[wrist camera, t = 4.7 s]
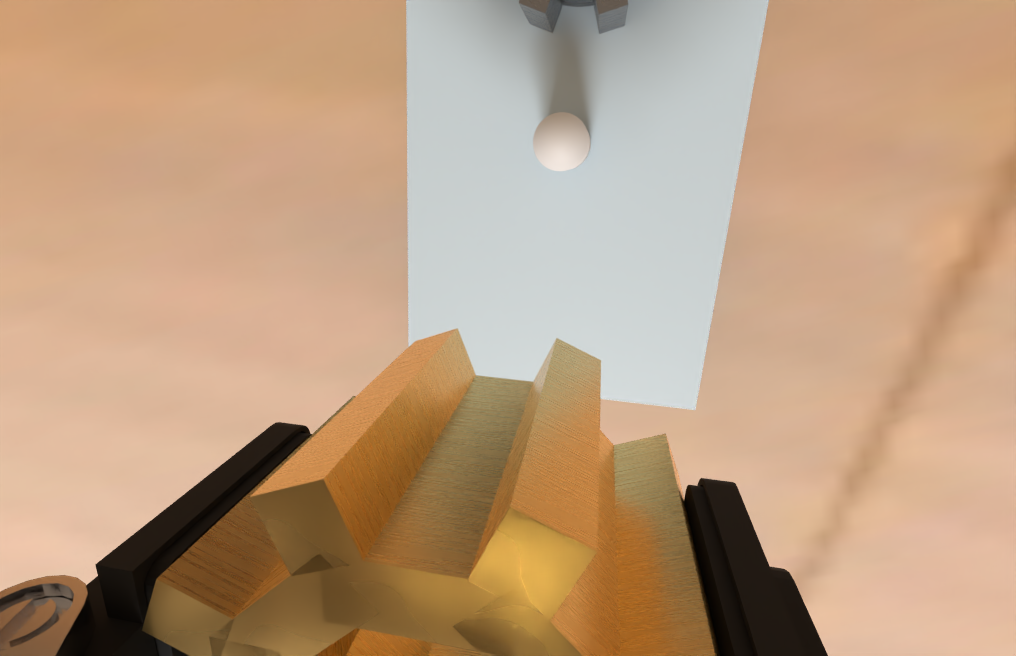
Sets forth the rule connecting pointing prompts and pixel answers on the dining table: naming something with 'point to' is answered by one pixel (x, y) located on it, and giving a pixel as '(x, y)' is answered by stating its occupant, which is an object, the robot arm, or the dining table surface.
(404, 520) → the brass gear
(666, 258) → the board
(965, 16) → the dining table surface
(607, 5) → the steel gear
